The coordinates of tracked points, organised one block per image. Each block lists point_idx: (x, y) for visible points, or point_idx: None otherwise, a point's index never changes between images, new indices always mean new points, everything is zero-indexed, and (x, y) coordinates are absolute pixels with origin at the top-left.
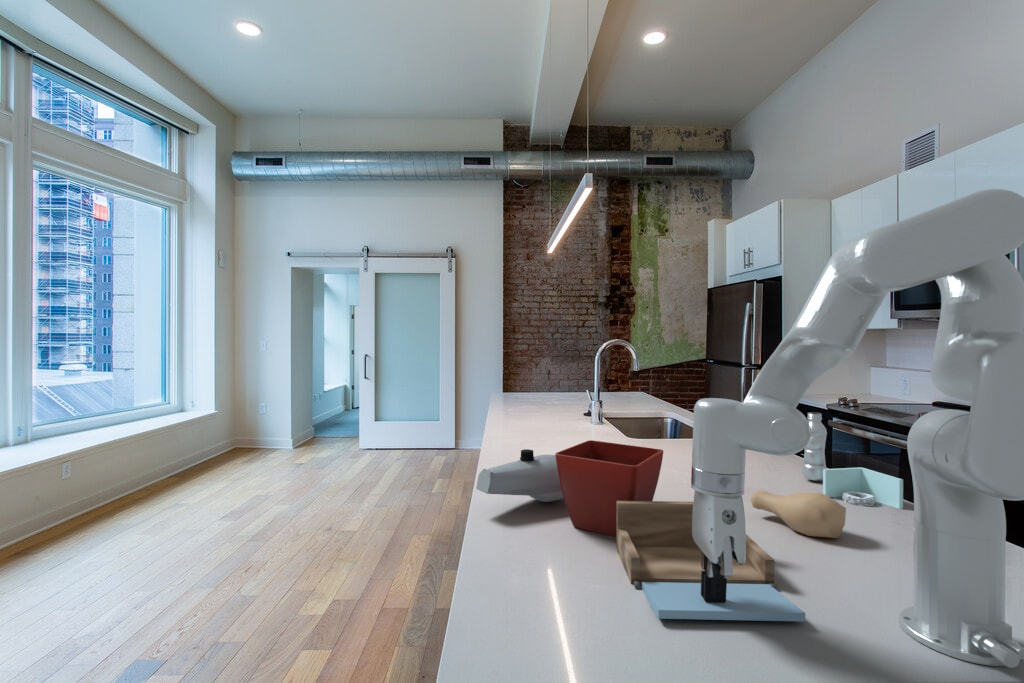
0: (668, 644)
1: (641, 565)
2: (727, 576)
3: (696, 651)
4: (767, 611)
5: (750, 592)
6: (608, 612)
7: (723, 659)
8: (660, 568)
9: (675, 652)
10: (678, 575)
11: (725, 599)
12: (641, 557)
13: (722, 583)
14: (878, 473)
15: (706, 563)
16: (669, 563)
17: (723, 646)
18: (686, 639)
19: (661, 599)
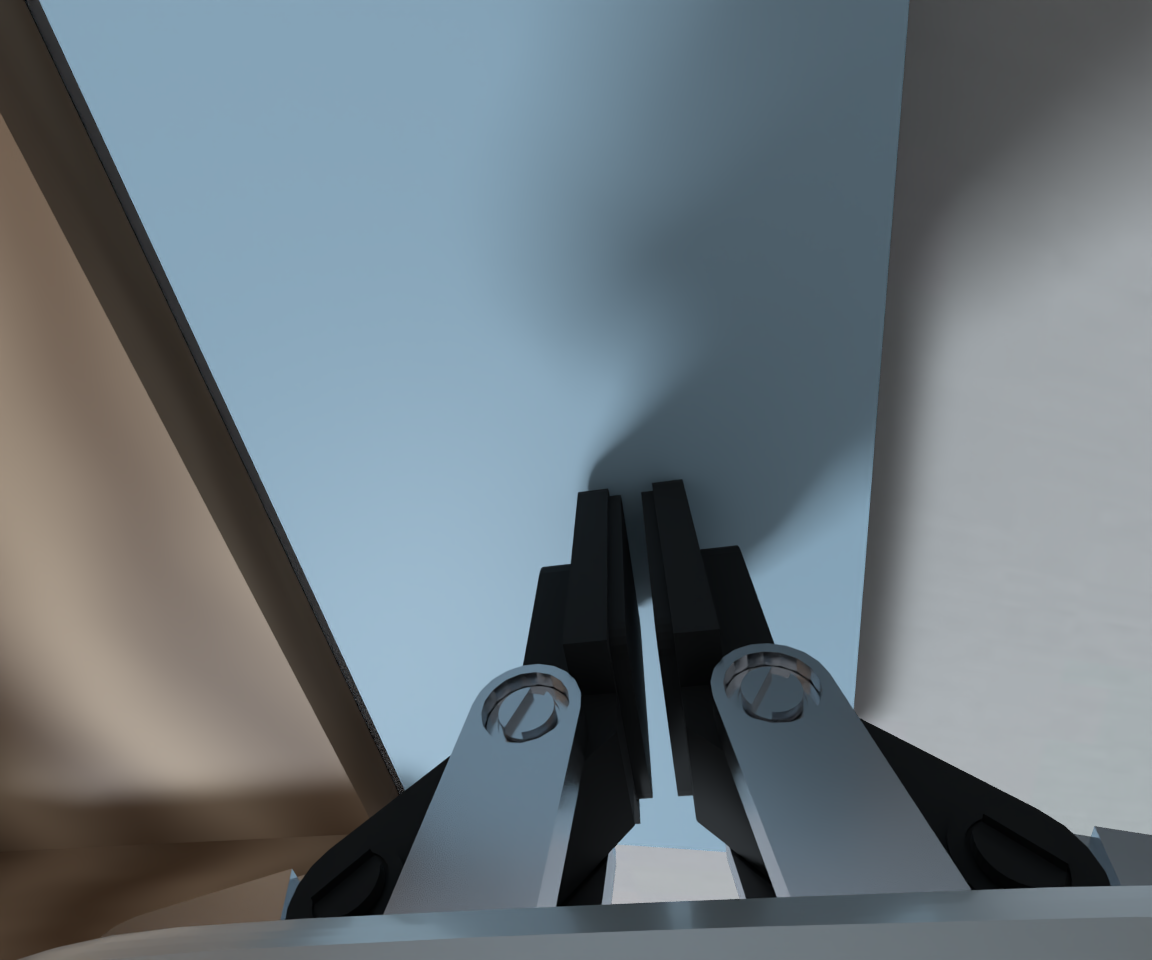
0: (950, 739)
1: (203, 813)
2: (834, 682)
3: (1031, 641)
4: (886, 98)
5: (344, 150)
6: (679, 892)
7: (1137, 531)
8: (184, 735)
9: (1023, 723)
10: (238, 660)
11: (682, 489)
12: (83, 802)
13: (768, 641)
14: None
15: (604, 890)
16: (67, 682)
17: (1005, 503)
18: (912, 666)
19: (678, 815)
